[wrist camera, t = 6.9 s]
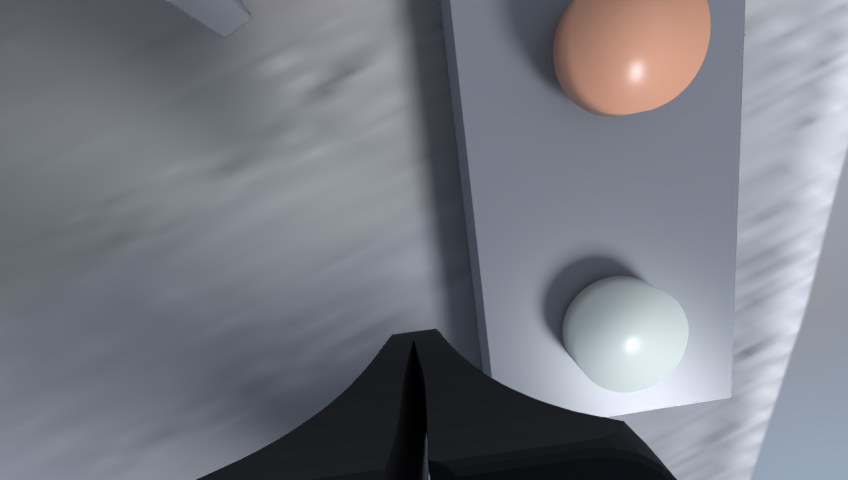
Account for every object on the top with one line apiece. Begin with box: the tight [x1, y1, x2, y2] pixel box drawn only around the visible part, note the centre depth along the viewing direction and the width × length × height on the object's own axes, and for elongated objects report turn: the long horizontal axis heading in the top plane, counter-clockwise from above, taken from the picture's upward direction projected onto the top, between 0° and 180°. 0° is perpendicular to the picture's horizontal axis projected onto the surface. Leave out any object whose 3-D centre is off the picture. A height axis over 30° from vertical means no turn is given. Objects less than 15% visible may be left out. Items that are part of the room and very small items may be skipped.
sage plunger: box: [562, 276, 689, 393], centre depth 19 cm, size 5×5×4 cm
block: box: [440, 0, 745, 417], centre depth 19 cm, size 22×12×3 cm, turn 8°
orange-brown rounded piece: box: [553, 0, 711, 117], centre depth 16 cm, size 5×5×4 cm
